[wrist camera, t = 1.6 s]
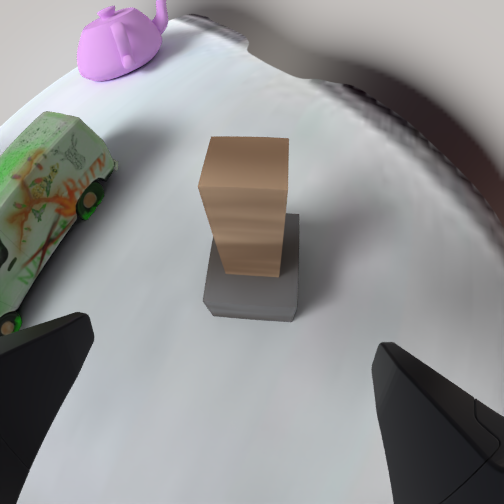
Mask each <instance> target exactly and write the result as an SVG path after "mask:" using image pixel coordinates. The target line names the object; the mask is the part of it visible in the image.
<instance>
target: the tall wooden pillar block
mask: <svg viewBox="0 0 504 504" xmlns="http://www.w3.org/2000/svg"><path fill="white" fill-rule="evenodd" d="M288 156H289V138H270V137H211V139H210V143H209V146H208V150H207V154H206V157H205V161H204V165H203V168H202V172H201V176H200V180H199V184H198V189H199V192H200V195H201V198H202V202H203V205H204V208H205V211H206V215H207V218H208V221H209V224H210V227H211V230H212V233H213V241H212V246H211V252H210V258H209V264H208V271H207V277H206V283H205V290H204V296H203V302H204V304H205V305H206V306H207V308H208V309H209V311H210V312H211V314H212V315H213V316H219V317H229V318H241V319H253V320H267V321H283V322H292V320H293V317H294V315H295V312H296V309H297V295H298V264H299V214H287V213H286V204H287V193H288Z"/></svg>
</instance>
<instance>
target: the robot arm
mask: <svg viewBox="0 0 504 504" xmlns="http://www.w3.org/2000/svg"><path fill="white" fill-rule="evenodd" d="M93 342H94V332H93V329H92V325H91V321H90V317H89V316H88V315H87V314H85V313H81V312H75V313H72V314H69V315H66V316H63V317H60V318H57V319H54V320H51V321H48V322H45V323H42V324H38V325H35V326H32V327H29V328H26V329H23V330H20V331H17V332H14V333H11V334H8V335H5V336H1V337H0V504H16V503H17V500H18V498H19V495H20V493H21V490H22V488H23V485H24V483H25V480H26V478H27V476H28V473H29V471H30V468H31V466H32V464H33V462H34V459H35V457H36V455H37V453H38V451H39V449H40V447H41V445H42V442H43V440H44V438H45V436H46V434H47V432H48V430H49V428H50V426H51V424H52V422H53V420H54V419H55V417H56V415H57V413H58V411H59V409H60V407H61V405H62V403H63V402H64V400H65V398H66V396H67V394H68V393H69V391H70V389H71V387H72V385H73V384H74V382H75V380H76V378H77V376H78V374H79V372H80V370H81V368H82V366H83V363H84V361H85V359H86V357H87V355H88V353H89V350H90V348H91V346H92V344H93ZM372 378H373V385H374V394H375V402H376V411H377V417H378V421H379V426H380V430H381V435H382V440H383V445H384V449H385V455H386V460H387V465H388V470H389V476H390V482H391V488H392V494H393V501H394V504H504V417H503V416H502V415H500V414H498V413H496V412H495V411H493V410H492V409H490V408H489V407H487V406H486V405H484V404H483V403H481V402H480V401H479V400H477V399H474V397H473V396H471V395H470V394H468V393H467V392H465V391H464V390H462V389H461V388H460V387H458V386H457V385H455V384H454V383H452V382H451V381H449V380H448V379H446V378H445V377H443V376H442V375H441V374H439V373H438V372H436V371H435V370H433V369H432V368H430V367H429V366H427V365H426V364H424V363H423V362H422V361H420V360H419V359H417V358H416V357H414V356H413V355H411V354H410V353H408V352H407V351H405V350H404V349H402V348H401V347H400V346H398V345H397V344H395V343H393V342H382V343H380V344H379V346H378V348H377V351H376V354H375V358H374V361H373V364H372Z"/></svg>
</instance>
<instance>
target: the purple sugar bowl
mask: <svg viewBox="0 0 504 504" xmlns="http://www.w3.org/2000/svg"><path fill="white" fill-rule="evenodd" d="M156 7H157V13H156V16H155V18H154V19H153V20H152V21H151V20H150V19H149V18H148V17H147V16H146V15H144V14H143V13H142V12H140V11H138V10H137V9H135V8H125V9H121V10H118V11H115V6H110V7H107V8H105V9H102V10H100V11H99V12H98V13H97V14H98V15H99V16H100V18H98V19H96V20H95V21H93V22H91V23H90V24H88V25H87V26H85V27H84V29H83V31H82V34H81V38H80V41H79V45H78V51H77V64H78V69H79V72H80V74H81V75H82V76H83V77H84V78H87V79H90V80H93V81H105V80H110V79H113V78H116V77H119V76H122V75H124V74H127V73H129V72H131V71H133V70H135V69H137V68H139V67H141V66H143V65H144V64H146V63H147V62H149V61H150V60H151V59H152V58H153V57H154V56H155V55H156V53H157V52H158V50H159V48H160V46H161V44H162V37H161V34H162V33H163V32H164V31H165V29H166V27H167V24H168V14H167V8H166V0H156Z"/></svg>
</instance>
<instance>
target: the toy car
mask: <svg viewBox="0 0 504 504" xmlns="http://www.w3.org/2000/svg"><path fill="white" fill-rule="evenodd" d="M114 169H115V171H117V170H118V162H117V161H116V160H114V159H112V158H111V155H110V153H109V151H108V149H107V147H106V145H105V143H104V141H103V140H102V139H101V138H100V137H99V136H98V135H97V134H96V133H95V132H94V131H93V130H91V129H90V128H89V127H88V126H87V125H86V124H85V123H84V122H83V121H82V120H81V119H80V118H78V117H74V116H70V115H65V114H61V113H55V112H48V111H46V112H43V113H42V114H41V115H40V116H38V117H37V118H36V119H35V120H34V121H33V122H32V123H31V124H30V125H29V126H28V127H27V128H26V129H25V130H24V131H23V132H22V133H21V134H20V135H19V136H18V137H17V138H16V139H15V140H14V141H13V142H12V144H11V145H10V146H9V147H8V148H7V149H6V150H5V151H4V152H3V154H2V155H1V156H0V337H1V336H5V335H8V334H11V333H14V332H17V331H19V330H20V327H21V324H22V321H21V317H20V315H19V314H18V313H17V312H16V311H15V310H17V309H18V308H19V306H20V304H21V302H22V301H23V299H24V297H25V296H26V294H27V292H28V290H29V289H30V287H31V285H32V284H33V282H34V281H35V279H36V277H37V276H38V274H39V273H40V271H41V270H42V268H43V267H44V265H45V264H46V262H47V261H48V259H49V258H50V256H51V255H52V253H53V252H54V250H55V249H56V248H57V246H58V245H59V243H60V242H61V240H62V239H63V237H64V236H65V235H66V233H67V232H68V230H69V229H70V228H71V226H72V225H73V223H74V222H75V221H76V219H77V215H78V216H79V217H80V218H81V219H84V220H87V219H88V218H89V217H90V216H91V215H92V214H93V213H94V211H95V209H96V207H97V206H98V205H99V204H100V203H101V201H102V199H103V197H104V190H103V187H102V185H101V184H99V183H98V182H97V180H98V179H101V180H104V181H107V180H108V178H109V177H110V176H111V174H112V173H113V170H114ZM76 214H77V215H76Z"/></svg>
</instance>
